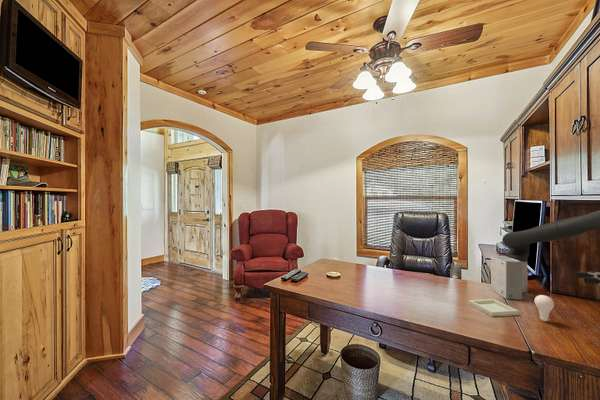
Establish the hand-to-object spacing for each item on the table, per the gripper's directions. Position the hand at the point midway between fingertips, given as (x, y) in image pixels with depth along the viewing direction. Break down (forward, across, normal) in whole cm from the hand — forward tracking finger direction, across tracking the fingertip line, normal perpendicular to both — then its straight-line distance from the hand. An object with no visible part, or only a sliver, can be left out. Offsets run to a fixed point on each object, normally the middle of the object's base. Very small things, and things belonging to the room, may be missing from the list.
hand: (578, 277), depth 103 cm
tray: (+29, -3, +19) cm, 35 cm away
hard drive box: (+20, -30, +19) cm, 41 cm away
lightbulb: (+12, 0, +20) cm, 23 cm away
